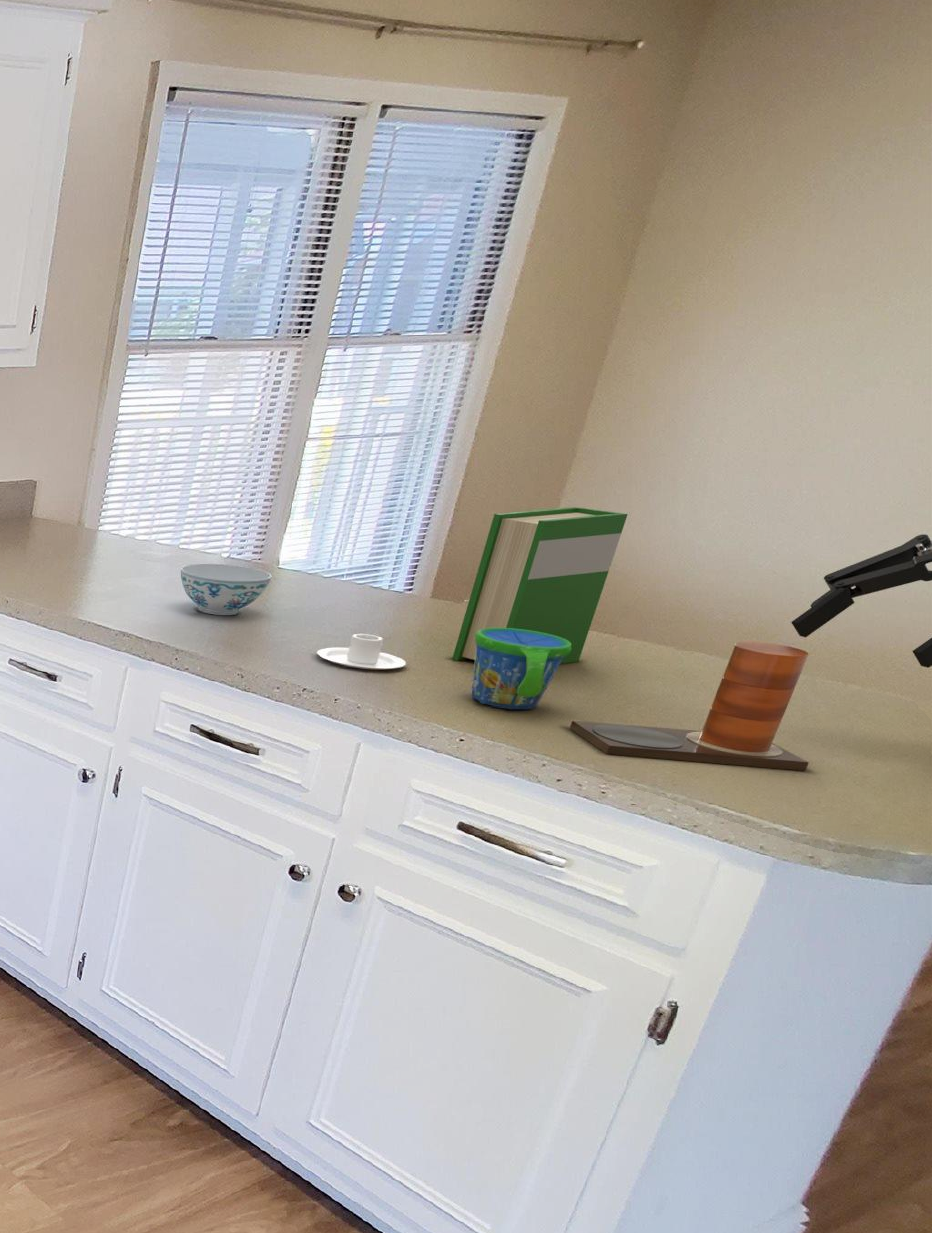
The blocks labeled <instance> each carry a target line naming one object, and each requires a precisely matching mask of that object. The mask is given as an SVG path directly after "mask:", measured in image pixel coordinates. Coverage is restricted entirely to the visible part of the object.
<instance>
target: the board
mask: <svg viewBox="0 0 932 1233" xmlns="http://www.w3.org/2000/svg"><path fill="white" fill-rule="evenodd" d="M569 730H571V731H573V732H574V733H575V734H576V735H578V736H580V737H581V738H583V739H584V740H585V741H587V742H588V743H590V744H591V745H593V746H594V747H596V748H597V749H599V750H600V751H601V752H603V753H604V754H606V755H613V756H625V757H637V758H649V759H650V758H651V759H661V760H672V761H673V760H674V761H683V762H695V763H709V764H719V765H720V764H721V765H731V766H732V765H733V766H742V767H753V768H764V769H765V768H767V769H778V770H788V771H789V770H790V771H801V772H806V770H807V768H808V765H809V761H807V760H805V759H804V758H802V757H801V756H798V755H796V754H794V753H792V752H790V751H788V750H787V749H784V748H782V747H781V746H779V745H777V744H775V743H773V742H772V745H771V747H770V749H769V751H766V752H746V751H738V750H732V749H727V748H722V747H719V746H715V745H712V744H709V743H707V742H704V741H703V740H701V739H700V734H701V732H702V730H695V729H684V728H683V729H682V728H672V727H671V728H669V727H657V726H655V727H654V726H646V725H645V726H643V725H642V726H641V725H633V724H632V725H630V724H620V723H619V724H617V723H606V722H593V721H583V720H582V721H581V720H571V723H570V726H569Z"/></svg>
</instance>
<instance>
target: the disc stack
mask: <svg viewBox="0 0 932 1233" xmlns="http://www.w3.org/2000/svg"><path fill="white" fill-rule="evenodd" d="M809 654H810V653H809V652H807V651H806V650H803V649H800V648H797V647H793V646H789V645H782V644H777V643H769V642H759V641H758V642H757V641H741V642H739V641H738V642H736V643H735V644H734V647H733V649H732V652H731V655H730V657H729V659H728V662H727V665H726V667H725V670H724V671H723V675H722V678H721V680H720V683H719V685H718V687H717V690H716V693H715V696H714V699H713V701H712V703H711V707H710V709H709V711H708V714H707V716H706V719H705V721H704V725H703V727H702V730H701V731H702V732H701V734H700V739H701V740H703V741H704V742H707V743H709V744H712V745H715V746H719V747H722V748H727V749H732V750H738V751H746V752H766V751H769V749H770V747H771V745H772V743H773V742H774V740H775V737H776V735H777V733H778V730H779V727H780V725H781V723H782V721H783V718H784V716H785V713H786V711H787V708H788V705H789V703H790V701H791V698H792V696H793V693H794V691H795V688H796V686H797V684H798V681H799V679H800V677H801V674H802V673H803V669H804V667H805V664H806V662H807V660H808V657H809Z"/></svg>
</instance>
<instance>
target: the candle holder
mask: <svg viewBox="0 0 932 1233" xmlns="http://www.w3.org/2000/svg"><path fill="white" fill-rule="evenodd" d="M383 643H384V638H383V637H381V636H378V635H374V634H368V633H355V634H353V635H351V638H350V642H349V647H326V648H321V649H319V650H317V652H316V654H317V655H318V656H319V657H320V658H322V659H324V660H326V661H329V662H331V663H333V664H337V665H341V666H344V667H349V668H355V669H362V670H391V669H393V670H394V669H400V668H403V667H405V666H406V665H407V662H406V660H404V659H403V658H400V657H398V656H395V655H393V654H389V653H387V652H381V650H382V647H383Z"/></svg>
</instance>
